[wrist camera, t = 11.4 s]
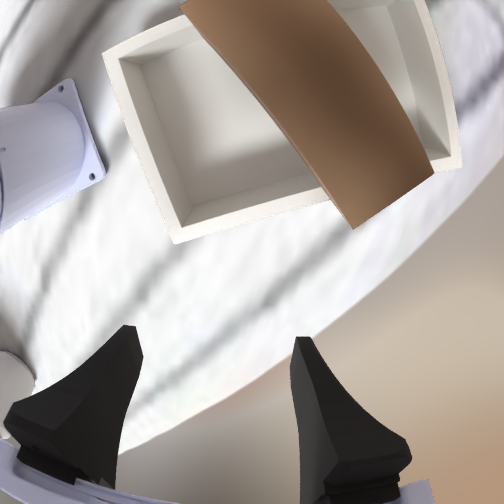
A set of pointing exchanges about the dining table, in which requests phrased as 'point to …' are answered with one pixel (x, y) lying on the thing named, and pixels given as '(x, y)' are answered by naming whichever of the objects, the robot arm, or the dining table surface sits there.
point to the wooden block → (320, 96)
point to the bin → (259, 117)
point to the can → (12, 385)
